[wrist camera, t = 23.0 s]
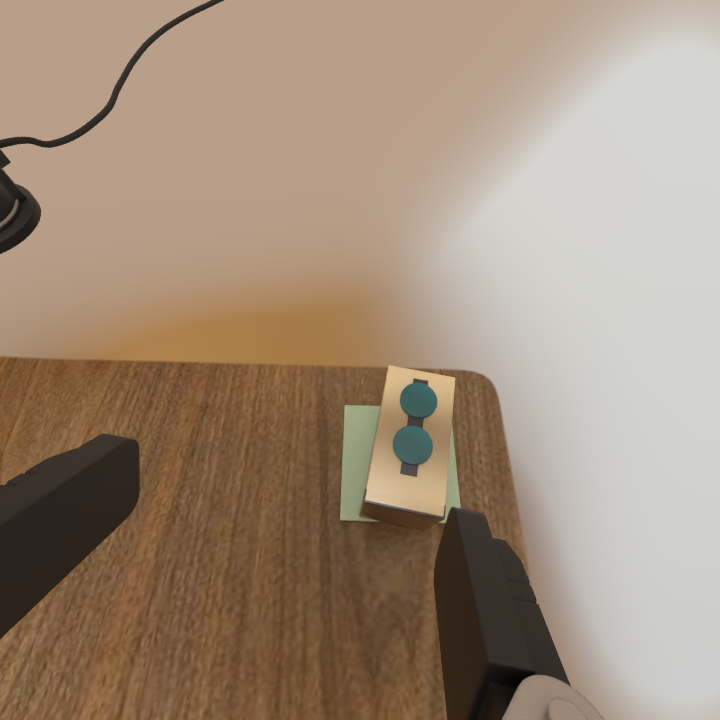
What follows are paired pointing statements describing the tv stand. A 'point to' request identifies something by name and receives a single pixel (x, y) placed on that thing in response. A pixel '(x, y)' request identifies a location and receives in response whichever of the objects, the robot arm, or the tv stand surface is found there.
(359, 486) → the pad
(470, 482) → the tv stand surface
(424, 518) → the holder
